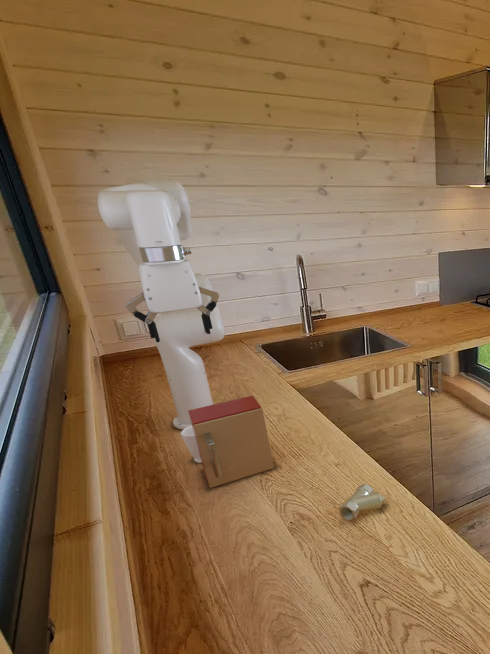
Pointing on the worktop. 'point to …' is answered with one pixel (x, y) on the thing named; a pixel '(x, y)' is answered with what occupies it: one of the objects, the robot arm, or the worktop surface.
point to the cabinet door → (234, 446)
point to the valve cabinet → (221, 413)
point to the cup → (191, 443)
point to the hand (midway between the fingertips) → (183, 336)
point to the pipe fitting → (361, 502)
